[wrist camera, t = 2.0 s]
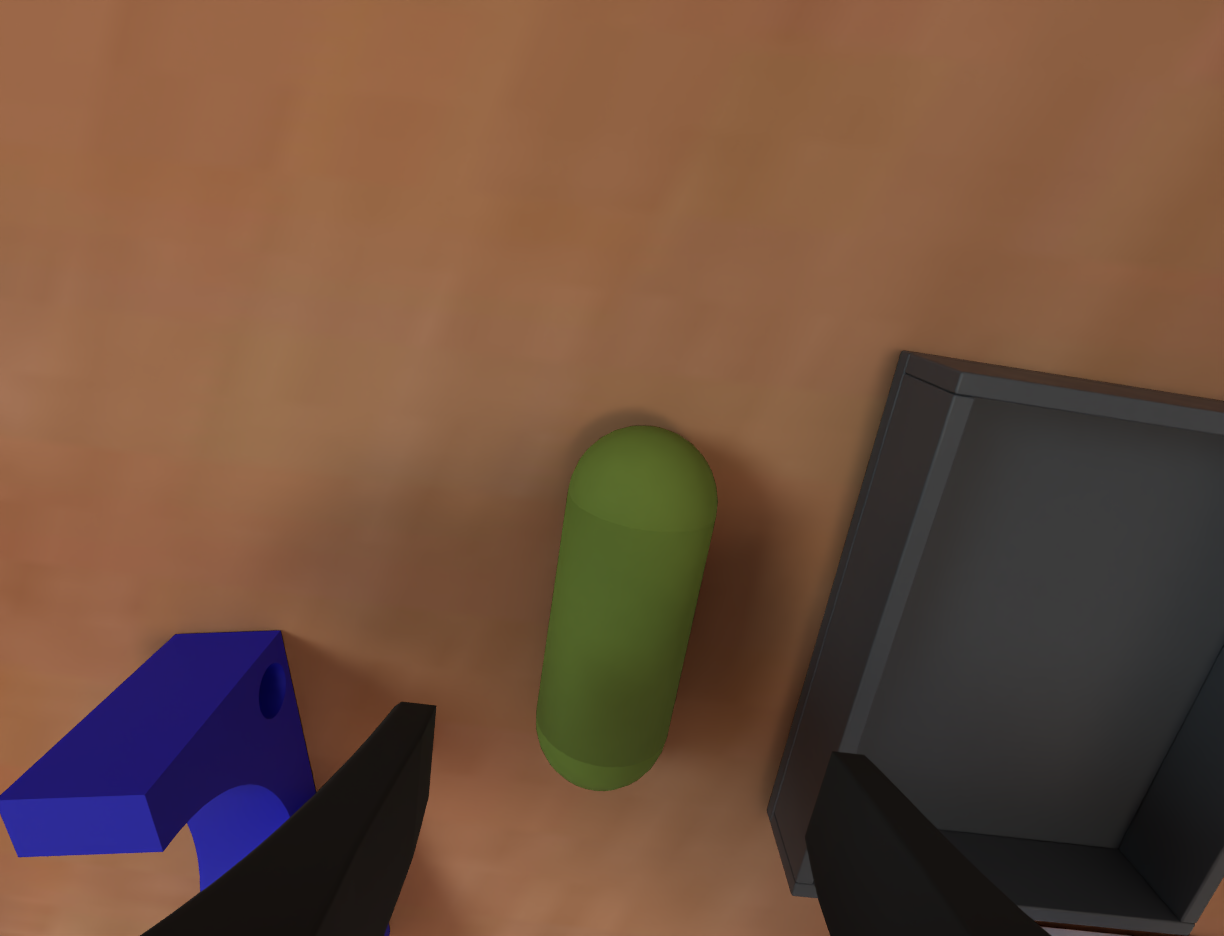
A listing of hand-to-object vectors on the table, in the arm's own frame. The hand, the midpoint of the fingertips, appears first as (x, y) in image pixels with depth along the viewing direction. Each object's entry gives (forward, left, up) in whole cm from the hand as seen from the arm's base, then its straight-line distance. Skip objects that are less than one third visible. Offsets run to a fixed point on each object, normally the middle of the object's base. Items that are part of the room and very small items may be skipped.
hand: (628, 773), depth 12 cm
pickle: (0, 0, -7) cm, 7 cm away
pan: (0, -12, -7) cm, 14 cm away
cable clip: (-9, +9, -7) cm, 15 cm away
